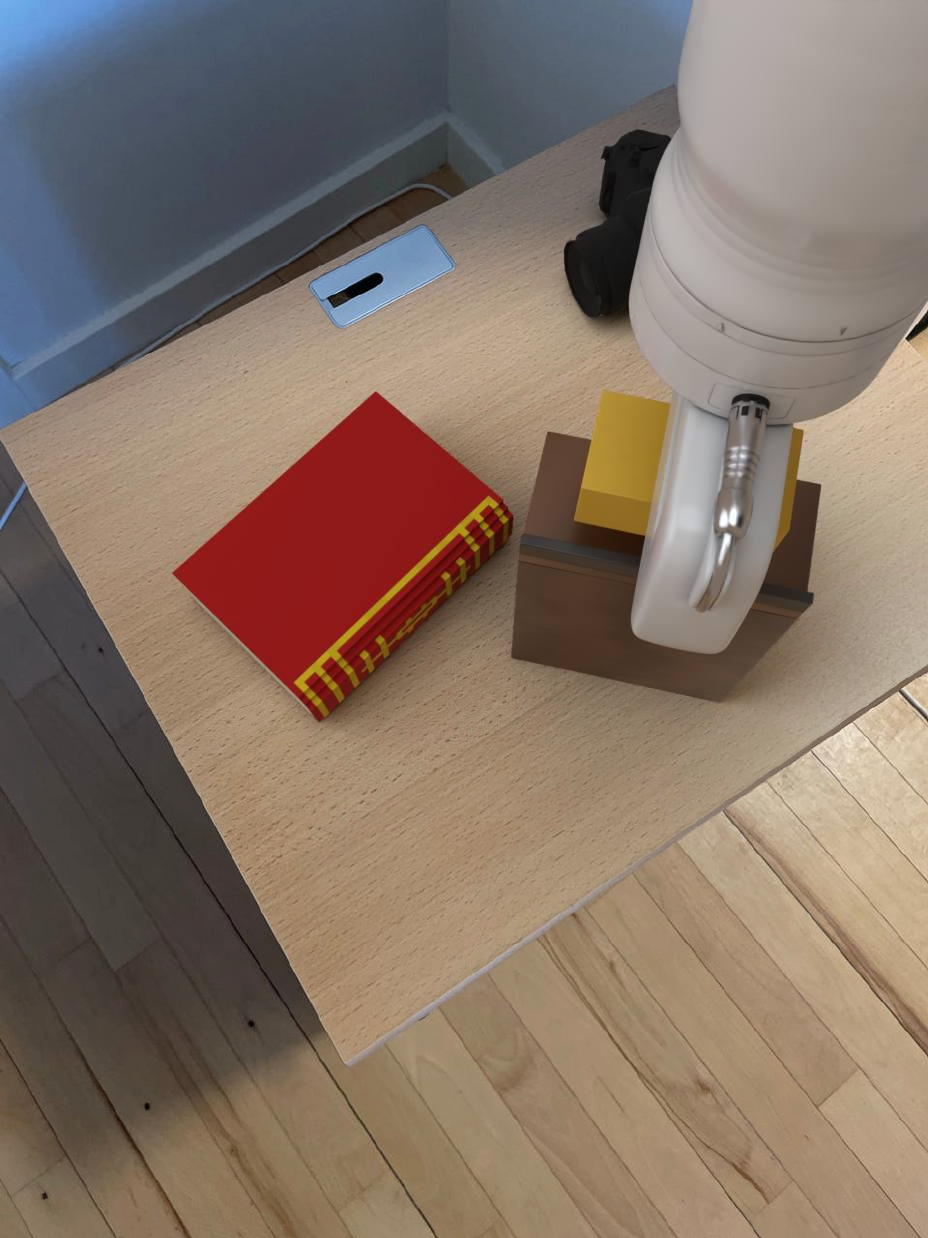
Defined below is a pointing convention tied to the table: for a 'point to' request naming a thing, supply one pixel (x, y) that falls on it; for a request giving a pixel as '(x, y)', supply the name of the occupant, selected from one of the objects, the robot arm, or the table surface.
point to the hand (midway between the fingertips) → (688, 477)
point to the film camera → (615, 225)
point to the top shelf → (620, 552)
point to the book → (346, 554)
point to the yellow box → (642, 465)
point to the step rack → (625, 636)
